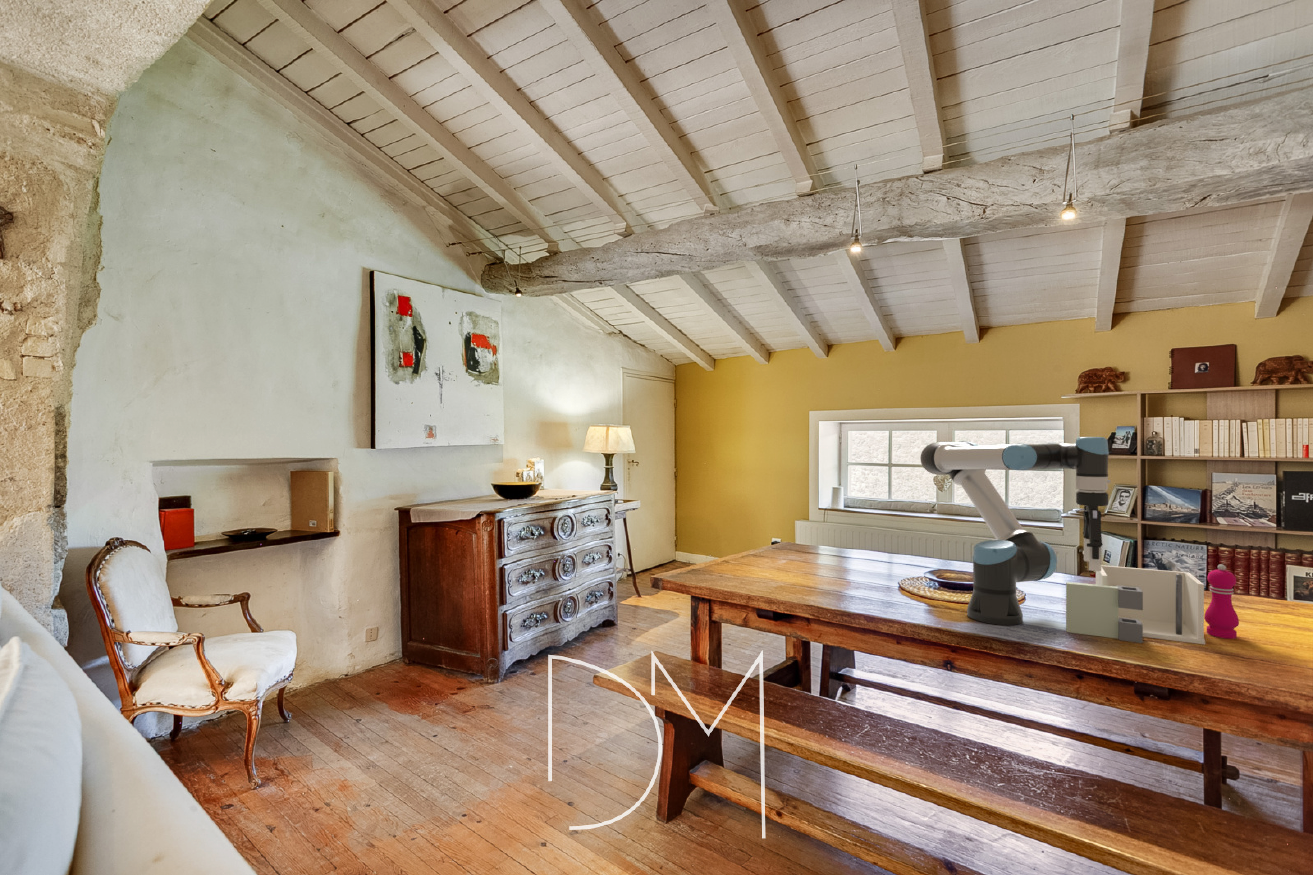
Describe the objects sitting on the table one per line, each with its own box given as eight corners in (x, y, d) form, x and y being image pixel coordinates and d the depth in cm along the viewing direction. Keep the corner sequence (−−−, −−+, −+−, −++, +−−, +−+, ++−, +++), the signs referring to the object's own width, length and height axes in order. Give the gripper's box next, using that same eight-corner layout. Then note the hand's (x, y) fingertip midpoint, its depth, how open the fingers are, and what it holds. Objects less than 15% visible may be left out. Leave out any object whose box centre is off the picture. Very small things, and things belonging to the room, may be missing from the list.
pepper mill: (1245, 640, 171) (1246, 567, 171) (1215, 638, 173) (1215, 566, 172) (1227, 631, 178) (1227, 562, 178) (1198, 630, 180) (1198, 561, 179)
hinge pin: (1176, 634, 173) (1176, 574, 172) (1175, 632, 174) (1175, 573, 174) (1182, 635, 172) (1182, 574, 172) (1181, 633, 173) (1181, 573, 173)
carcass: (1101, 631, 179) (1101, 575, 179) (1094, 616, 193) (1094, 564, 193) (1205, 644, 168) (1205, 584, 168) (1190, 627, 182) (1190, 572, 182)
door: (1067, 633, 178) (1067, 584, 178) (1065, 628, 182) (1065, 580, 182) (1142, 643, 169) (1142, 591, 169) (1139, 637, 174) (1139, 587, 174)
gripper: (1114, 495, 164) (1114, 576, 164) (1102, 488, 186) (1102, 559, 186) (1080, 494, 168) (1080, 573, 168) (1072, 487, 189) (1072, 556, 189)
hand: (1092, 566), depth 177 cm, fingers open, 13 cm apart
